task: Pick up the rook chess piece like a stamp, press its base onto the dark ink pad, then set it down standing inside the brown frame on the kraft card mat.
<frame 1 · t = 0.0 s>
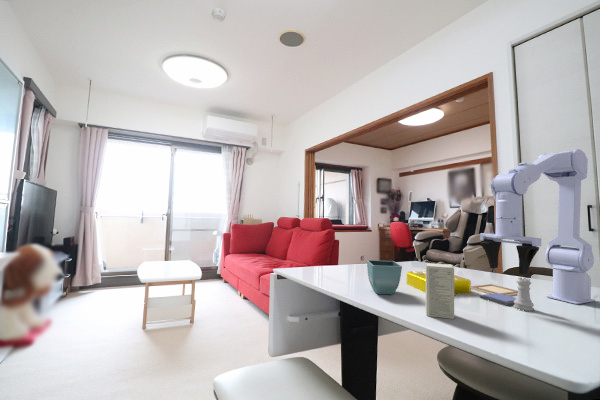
hand: (508, 270, 81), 10 cm above the table, tool pointing down, fingers open, 7 cm apart
rook chess piece: (523, 309, 82), on the table
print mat: (495, 290, 100), on the table
skincare box: (438, 315, 75), on the table
ink pad: (502, 300, 89), on the table
flower pot: (383, 293, 94), on the table
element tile: (436, 289, 102), on the table
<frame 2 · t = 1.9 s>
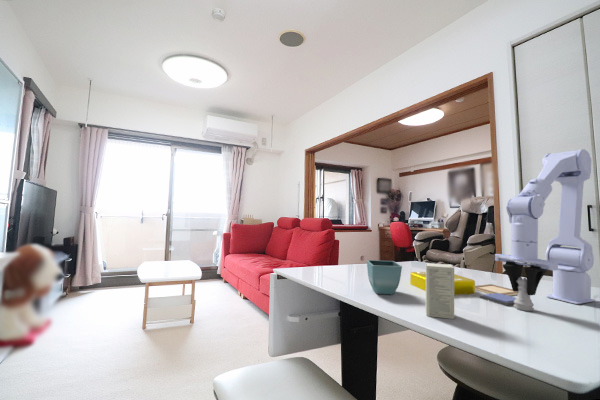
hand: (523, 292, 82), 4 cm above the table, tool pointing down, fingers closed on rook chess piece, 3 cm apart
rook chess piece: (523, 309, 82), on the table, touching gripper
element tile: (440, 290, 101), on the table
everything else where it was.
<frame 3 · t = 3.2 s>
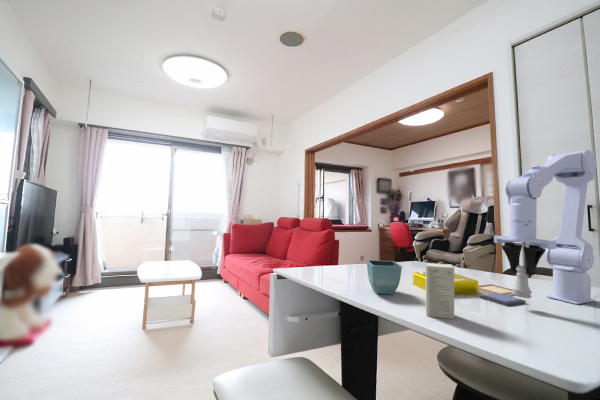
hand: (522, 272, 82), 9 cm above the table, tool pointing down, fingers closed on rook chess piece, 3 cm apart
rook chess piece: (521, 297, 82), point 3 cm above the table, touching gripper
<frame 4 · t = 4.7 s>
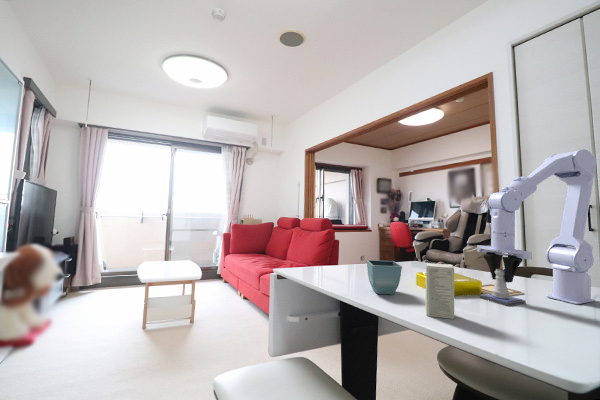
hand: (502, 280, 89), 6 cm above the table, tool pointing down, fingers closed on rook chess piece, 3 cm apart
rook chess piece: (500, 297, 89), point 1 cm above the table, touching gripper, ink pad
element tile: (447, 290, 101), on the table
everything else where it was.
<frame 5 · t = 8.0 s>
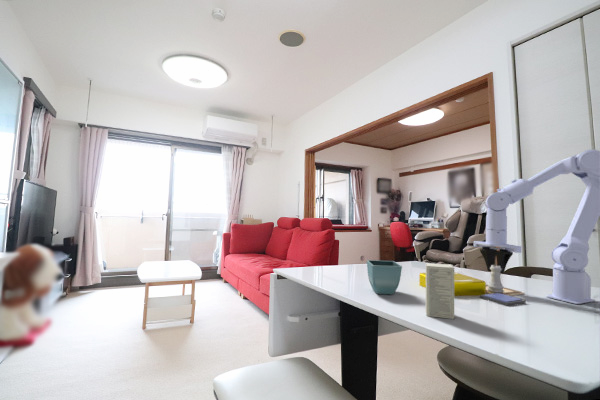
hand: (495, 272, 100), 6 cm above the table, tool pointing down, fingers open, 3 cm apart
rook chess piece: (495, 292, 97), resting on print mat, touching gripper
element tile: (450, 291, 100), on the table
everything else where it was.
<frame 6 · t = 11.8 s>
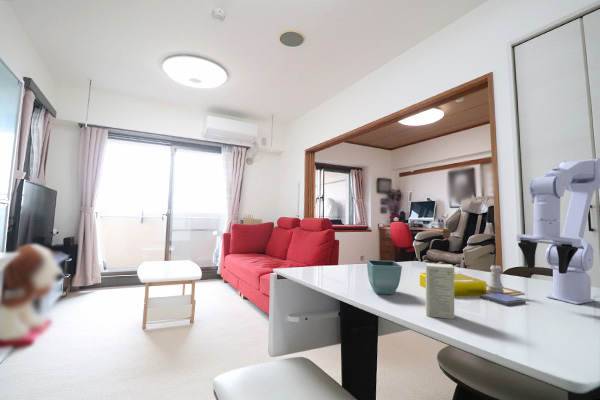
hand: (546, 270, 84), 10 cm above the table, tool pointing down, fingers open, 7 cm apart
rook chess piece: (495, 292, 97), resting on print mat
everything else where it was.
at the end: rook chess piece inside the target area on the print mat (3.7 cm from its centre), point 0.4 cm above the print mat's base; rook chess piece tilted 0°; the gripper is holding nothing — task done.
